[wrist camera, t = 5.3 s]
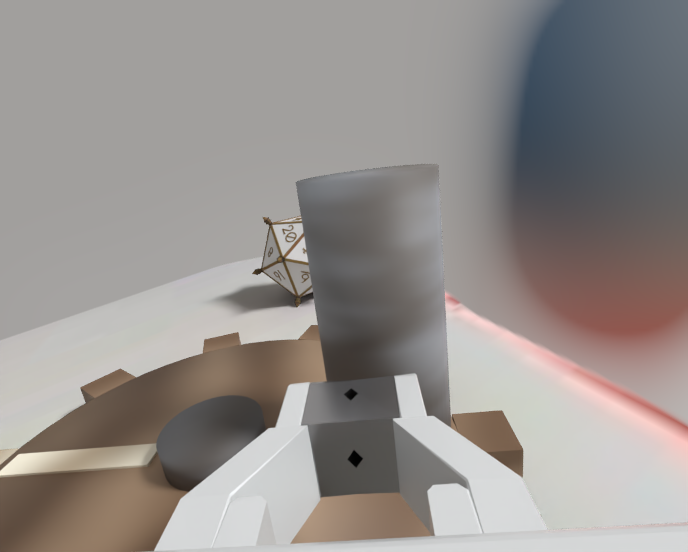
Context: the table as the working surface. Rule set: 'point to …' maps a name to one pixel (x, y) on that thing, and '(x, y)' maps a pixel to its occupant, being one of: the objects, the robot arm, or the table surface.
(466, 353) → the table surface
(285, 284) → the game die
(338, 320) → the sprocket
